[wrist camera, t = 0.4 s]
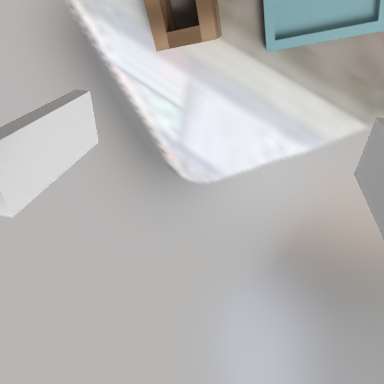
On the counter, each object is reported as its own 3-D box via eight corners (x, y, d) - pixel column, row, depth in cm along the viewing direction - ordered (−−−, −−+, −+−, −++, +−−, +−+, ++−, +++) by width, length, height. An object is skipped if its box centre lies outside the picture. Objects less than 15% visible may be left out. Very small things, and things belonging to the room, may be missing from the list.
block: (151, -22, 33) (138, -23, 30) (212, -39, 31) (205, -43, 28) (166, 46, 37) (156, 51, 33) (221, 35, 35) (216, 39, 31)
